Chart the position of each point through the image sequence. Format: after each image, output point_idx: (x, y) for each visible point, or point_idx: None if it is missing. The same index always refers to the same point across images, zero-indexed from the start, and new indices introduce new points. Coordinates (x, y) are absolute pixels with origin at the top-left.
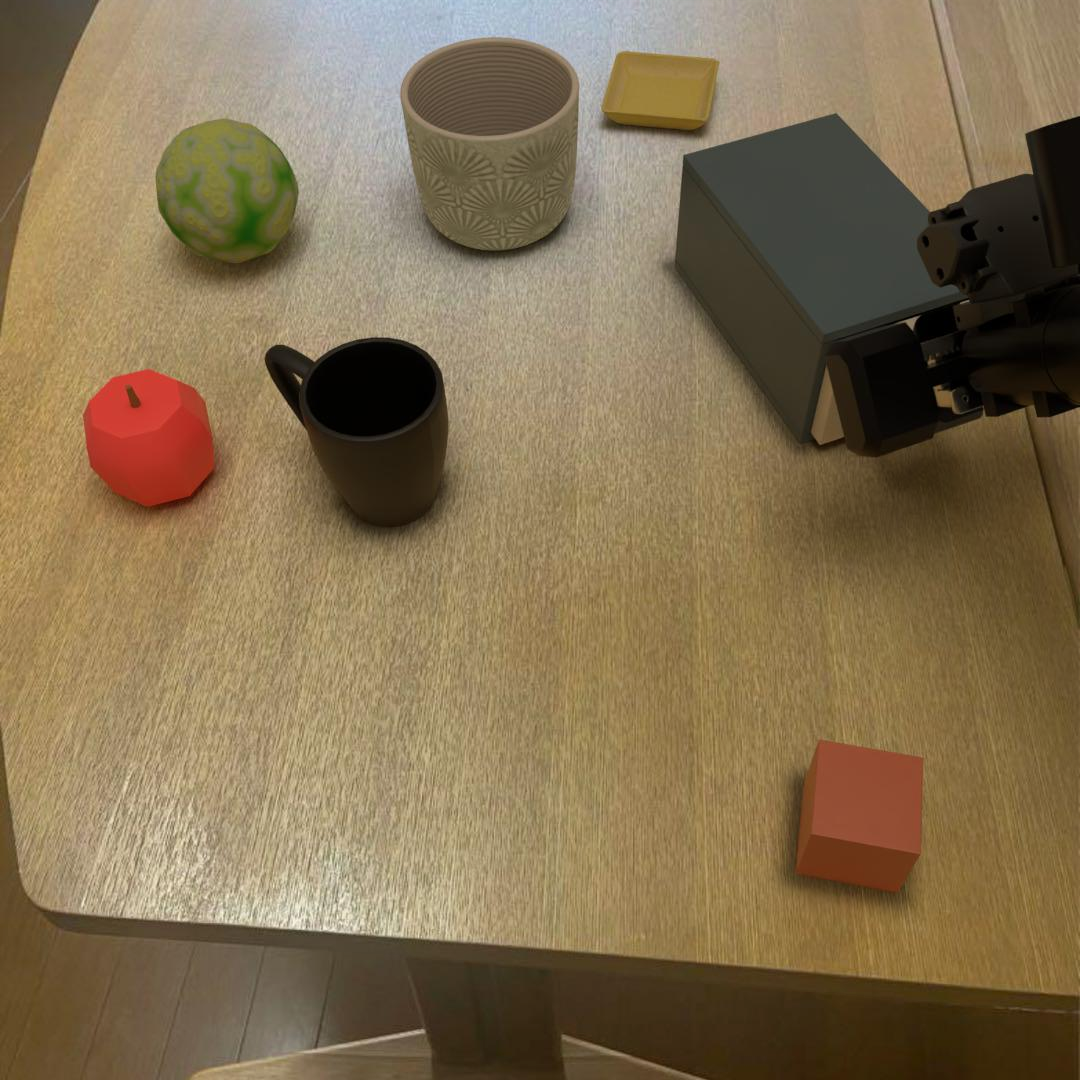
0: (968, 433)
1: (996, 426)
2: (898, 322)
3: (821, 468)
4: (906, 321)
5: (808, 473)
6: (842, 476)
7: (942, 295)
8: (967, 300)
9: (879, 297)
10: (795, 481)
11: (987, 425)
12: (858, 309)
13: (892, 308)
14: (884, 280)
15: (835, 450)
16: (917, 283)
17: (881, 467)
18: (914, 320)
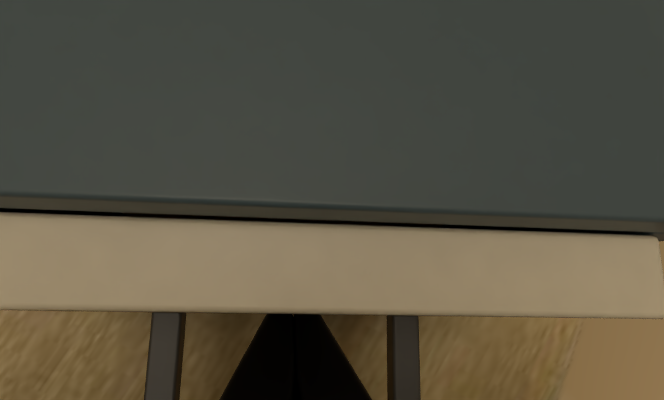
0: (432, 385)
1: (494, 391)
2: (252, 224)
3: (89, 345)
4: (286, 235)
5: (54, 347)
6: (117, 385)
7: (492, 203)
8: (588, 234)
9: (206, 84)
10: (12, 356)
11: (478, 381)
12: (57, 106)
13: (215, 176)
14: (299, 5)
15: (149, 312)
16: (427, 86)
17: (211, 397)
18: (324, 242)
